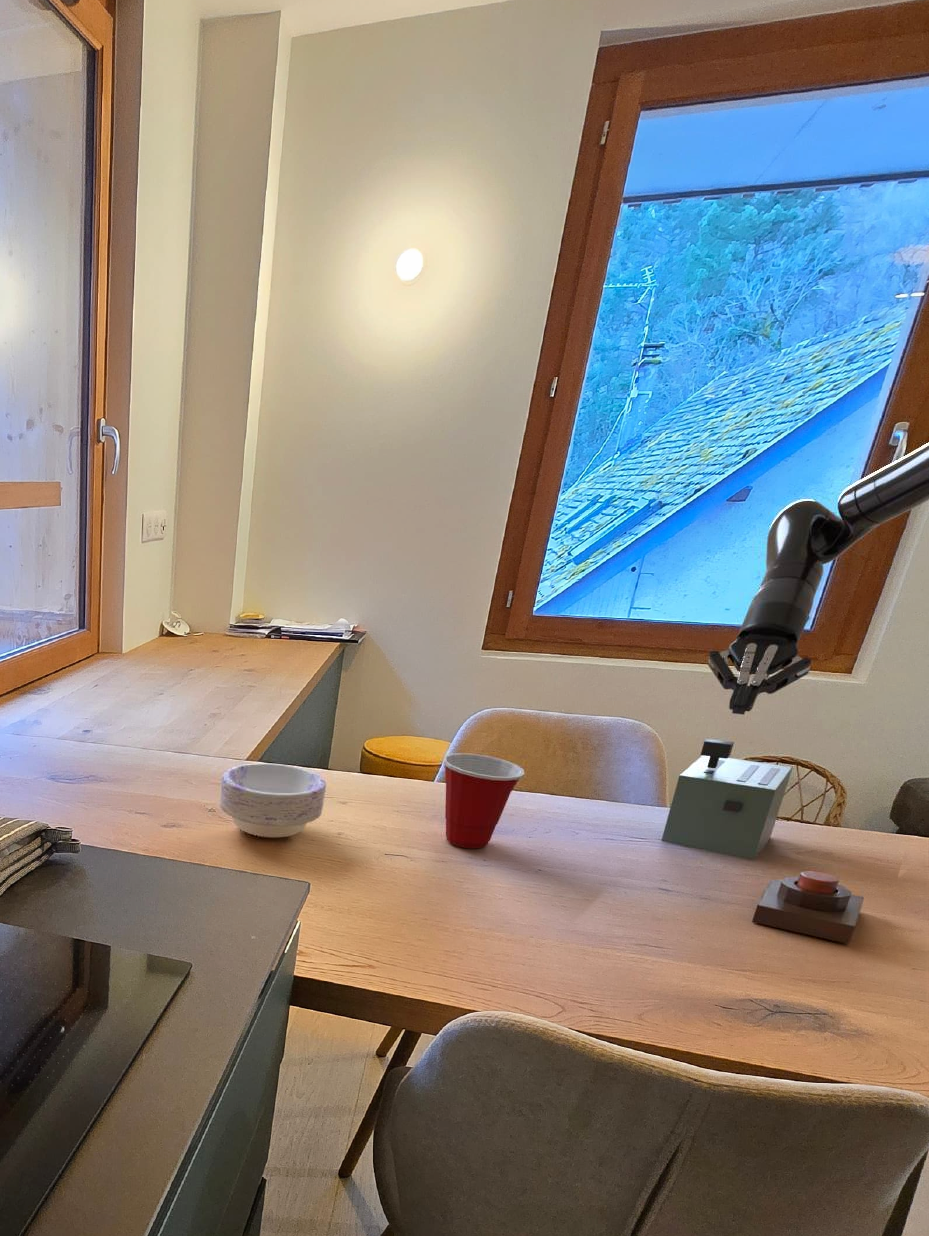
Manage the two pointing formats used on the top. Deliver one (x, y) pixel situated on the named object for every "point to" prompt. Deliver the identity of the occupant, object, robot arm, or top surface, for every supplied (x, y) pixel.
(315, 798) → the paper bowls
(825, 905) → the box
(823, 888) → the button
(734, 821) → the toaster
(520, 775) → the plastic cup
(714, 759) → the toaster slider
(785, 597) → the robot arm
